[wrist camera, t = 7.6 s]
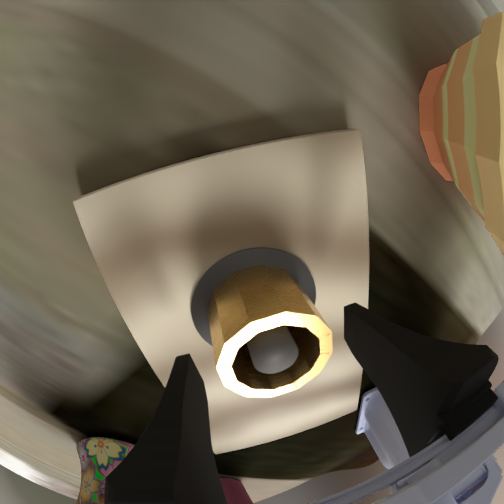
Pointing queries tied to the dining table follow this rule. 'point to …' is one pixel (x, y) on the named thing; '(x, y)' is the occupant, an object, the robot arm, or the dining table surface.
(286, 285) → the brass collar
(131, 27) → the dining table surface
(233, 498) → the plant pot
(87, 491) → the mug
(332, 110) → the dining table surface
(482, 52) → the potted cactus
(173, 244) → the post board
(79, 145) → the dining table surface
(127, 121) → the dining table surface
